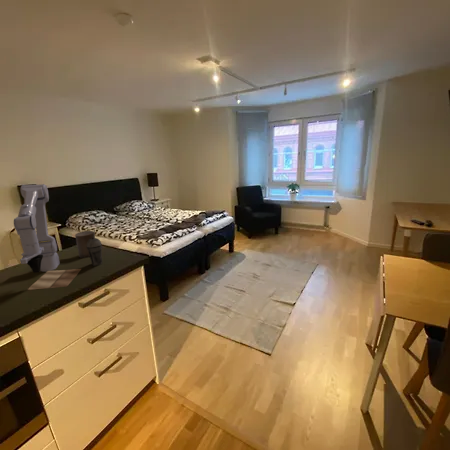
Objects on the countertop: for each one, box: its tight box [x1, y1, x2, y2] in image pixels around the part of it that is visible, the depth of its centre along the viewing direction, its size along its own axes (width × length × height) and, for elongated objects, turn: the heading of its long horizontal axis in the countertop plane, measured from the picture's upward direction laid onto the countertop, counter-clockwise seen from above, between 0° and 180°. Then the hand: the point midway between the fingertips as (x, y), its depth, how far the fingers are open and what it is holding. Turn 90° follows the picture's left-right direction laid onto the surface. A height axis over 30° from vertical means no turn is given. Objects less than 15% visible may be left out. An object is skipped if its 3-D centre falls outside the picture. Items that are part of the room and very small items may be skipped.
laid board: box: [49, 268, 82, 289], centre depth 118 cm, size 18×7×1 cm, turn 10°
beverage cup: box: [87, 229, 103, 267], centre depth 131 cm, size 7×7×20 cm
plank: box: [26, 269, 67, 291], centre depth 117 cm, size 18×8×1 cm, turn 10°
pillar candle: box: [74, 230, 94, 259], centre depth 146 cm, size 10×10×15 cm
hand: (37, 271), depth 111 cm, fingers closed
